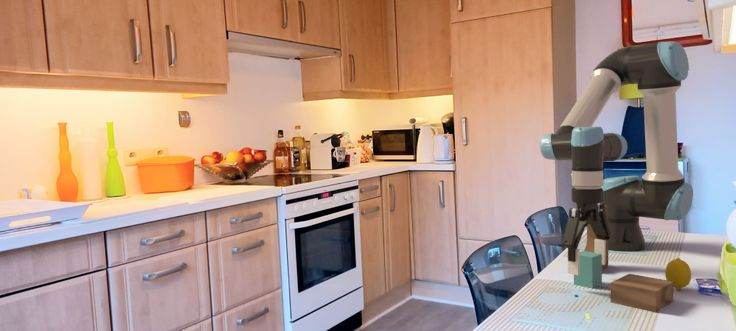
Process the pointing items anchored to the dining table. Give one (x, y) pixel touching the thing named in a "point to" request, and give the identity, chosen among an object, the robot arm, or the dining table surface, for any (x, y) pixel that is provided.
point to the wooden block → (592, 236)
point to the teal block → (589, 270)
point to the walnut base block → (642, 292)
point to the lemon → (678, 273)
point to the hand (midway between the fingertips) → (587, 268)
